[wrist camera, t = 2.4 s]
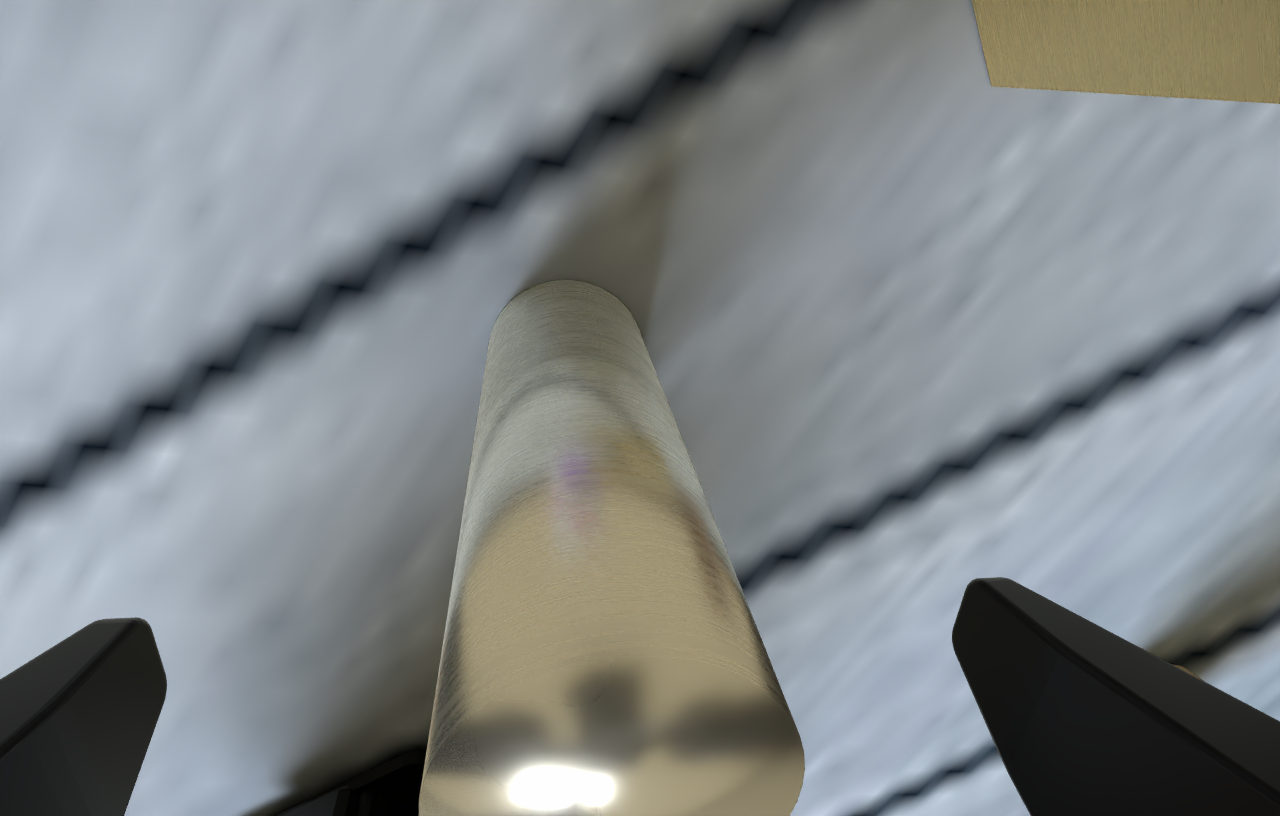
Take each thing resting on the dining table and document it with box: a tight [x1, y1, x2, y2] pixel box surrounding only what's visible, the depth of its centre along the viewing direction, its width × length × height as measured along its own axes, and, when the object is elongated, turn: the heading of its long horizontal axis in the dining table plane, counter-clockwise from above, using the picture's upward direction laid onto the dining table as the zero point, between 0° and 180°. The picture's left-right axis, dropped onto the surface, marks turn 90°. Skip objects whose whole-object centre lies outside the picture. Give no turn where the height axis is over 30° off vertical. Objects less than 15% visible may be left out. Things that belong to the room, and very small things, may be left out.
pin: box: [419, 280, 805, 816], centre depth 10 cm, size 3×3×10 cm
